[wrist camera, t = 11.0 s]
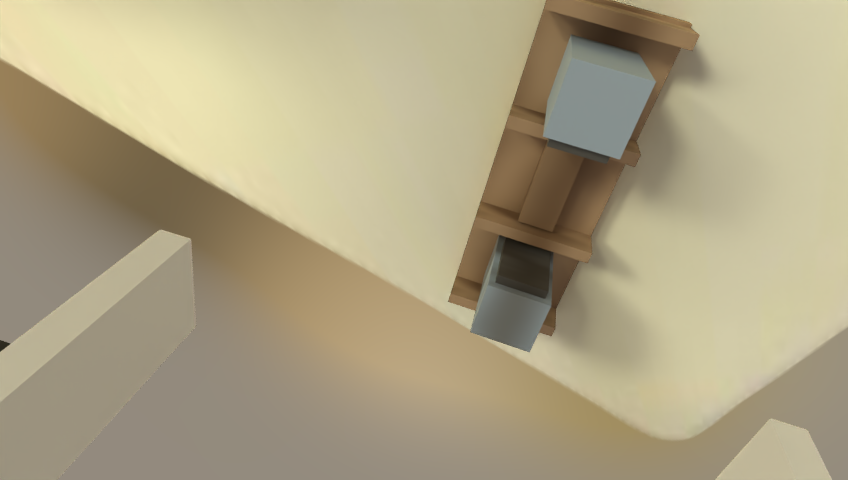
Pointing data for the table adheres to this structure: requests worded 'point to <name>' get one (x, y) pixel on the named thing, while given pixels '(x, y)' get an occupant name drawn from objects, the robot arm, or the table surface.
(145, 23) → the table surface
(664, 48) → the wooden block holder
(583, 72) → the blue gray block
